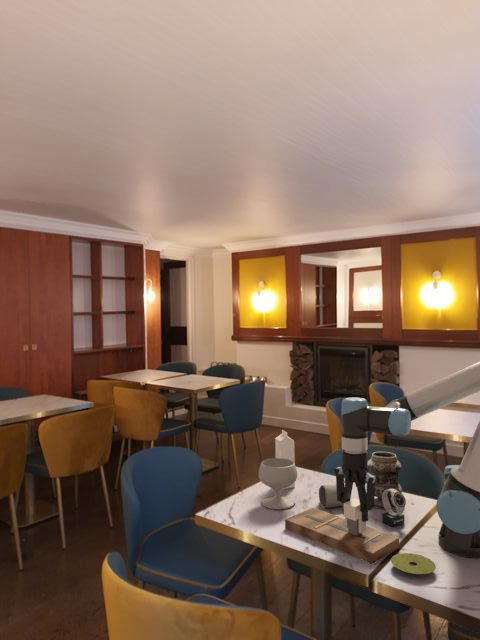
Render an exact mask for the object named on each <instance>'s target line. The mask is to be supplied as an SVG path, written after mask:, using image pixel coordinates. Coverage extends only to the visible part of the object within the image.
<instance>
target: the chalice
mask: <svg viewBox="0 0 480 640" xmlns="http://www.w3.org/2000/svg"><path fill="white" fill-rule="evenodd" d="M258 478H259V480H260V482H261V483H263V485H265V486H267V487H269V488H271V489H272V490H273V491H274V493H275V496H269V497H266V498H263V500H262V501H261V505H262V506H263V507H265V508H268V509H271V510H272V509H273V510H285V509H290V508H293V507H294V506H295V505H296V502H295V500H293V499H292V498H290V497H286V496H281V494H282V492H283V491H284V490H285V489H284V488H286V487H288V486H290V485H292V484H293V483H294V482H295V483H296V481H297V479H298V470H297V466H296V465H295V464H294V462H293V461H291V460H288V459H283V458H276V457H274V458H267V459H263V460H261V463H260V464H259V468H258Z"/></svg>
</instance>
